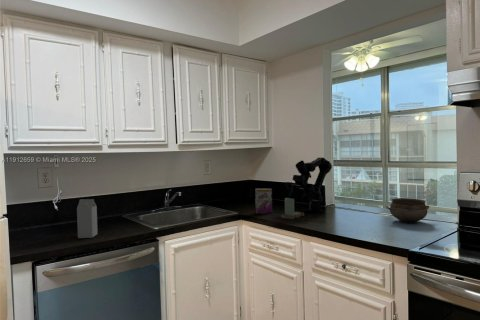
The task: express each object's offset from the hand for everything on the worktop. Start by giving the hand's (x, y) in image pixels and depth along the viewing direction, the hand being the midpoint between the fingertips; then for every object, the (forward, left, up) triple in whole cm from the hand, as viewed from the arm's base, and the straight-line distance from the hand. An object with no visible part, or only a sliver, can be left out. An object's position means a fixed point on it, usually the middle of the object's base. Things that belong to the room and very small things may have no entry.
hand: (294, 197), depth 199 cm
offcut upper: (+1, +1, -11) cm, 11 cm away
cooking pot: (-61, +19, -12) cm, 65 cm away
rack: (+2, +2, -12) cm, 13 cm away
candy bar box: (+18, -14, -12) cm, 26 cm away
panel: (+4, +5, -12) cm, 14 cm away
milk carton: (+112, +35, -12) cm, 118 cm away
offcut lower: (0, 0, -13) cm, 13 cm away
